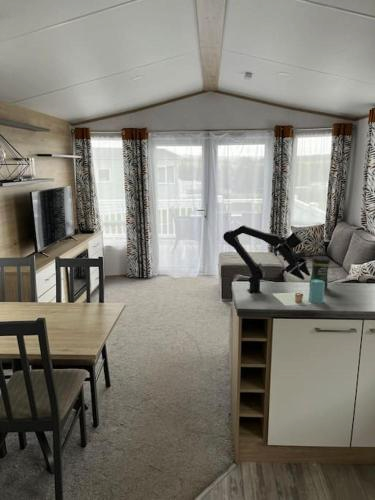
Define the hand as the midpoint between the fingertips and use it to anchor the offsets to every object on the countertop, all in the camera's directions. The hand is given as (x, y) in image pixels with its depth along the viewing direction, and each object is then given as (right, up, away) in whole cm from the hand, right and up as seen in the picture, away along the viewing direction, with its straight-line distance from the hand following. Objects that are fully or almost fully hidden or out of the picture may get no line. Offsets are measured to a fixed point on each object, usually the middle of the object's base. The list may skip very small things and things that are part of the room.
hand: (306, 277), depth 196 cm
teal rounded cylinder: (+4, -13, -1) cm, 13 cm away
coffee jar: (+14, -8, +24) cm, 29 cm away
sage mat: (-8, -12, +3) cm, 14 cm away
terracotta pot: (-5, -12, -2) cm, 13 cm away
